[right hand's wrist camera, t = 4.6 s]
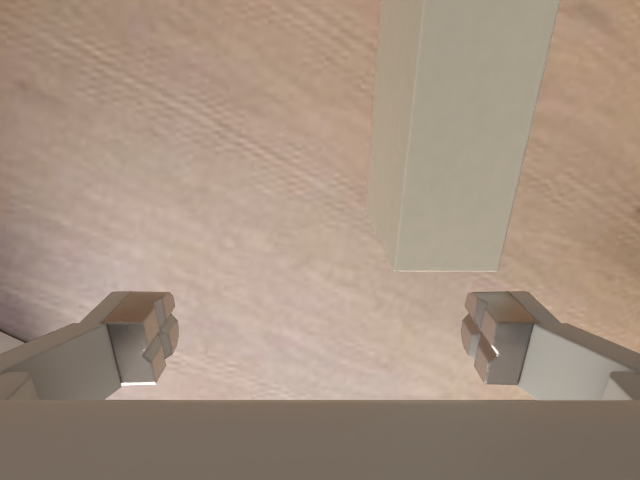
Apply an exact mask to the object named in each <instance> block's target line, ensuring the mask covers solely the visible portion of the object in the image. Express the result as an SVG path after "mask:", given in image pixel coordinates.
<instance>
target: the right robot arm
mask: <svg viewBox="0 0 640 480" xmlns="http://www.w3.org/2000/svg"><path fill="white" fill-rule="evenodd" d="M174 307H175V303H174V298H173V295H172V294H171V293H170V292H139V291H134V292H133V291H116V292H111V293H110V294H109V295H108V296H107V297H106V298H105V299H104V300H103V301H102V302H101V303H100V304H99V305H98V306H97V307H96V308H95V309H93V310H92V311H91V312H90V313H89V314H88V315H87V316H86V317H85V318H84V319H83V320H82V321H81V322H80V323H73V324H70V325H68V326H65V327H63V328H61V329H58V330H56V331H53V332H51V333H49V334H46V335H44V336H42V337H39V338H37V339H34V340H32V341H30V342H27V343H24V342H22V341H20V340H18V339H16V338H13V337H11V336H9V335H7V334H5V333H3V332H1V331H0V480H640V354H639V353H637V352H634V351H632V350H630V349H627V348H625V347H622V346H620V345H618V344H615V343H613V342H610V341H608V340H606V339H603V338H601V337H598V336H596V335H594V334H591V333H589V332H586V331H584V330H582V329H579V328H577V327H575V326H572V325H570V324H567V323H560V322H559V321H558V320H557V319H556V318H555V317H554V316H553V315H552V314H551V313H550V312H549V311H548V310H547V309H546V308H545V307H543V306H542V305H541V304H540V303H539V302H538V301H537V300H536V299H535V298H534V297H533V296H532V295H531V294H530V293H529V292H526V291H511V292H509V291H506V292H472V293H468V296H467V298H466V303H465V307H466V309H467V311H468V312H469V314H468V315H467V316H466V317H465V318H464V319H463V320H462V328H461V335H462V343H463V346H464V349H465V350H466V352H467V354H468V355H469V356H471V357H473V358H474V359H475V363H474V367H475V368H476V370H477V372H478V374H479V375H480V377H481V379H482V381H483V382H484V384H501V385H518V387H520V388H521V389H522V390H524V391H525V392H526V393H528V394H529V395H530V396H532V397H533V398H534V399H535V400H105V399H106V398H107V397H109V396H110V395H111V394H113V393H114V392H115V391H117V390H118V389H119V388H121V387H122V385H138V384H156V383H157V381H158V379H159V377H160V375H161V374H162V372H163V370H164V368H165V367H166V363H165V359H166V358H167V357H169V356H171V355H172V354H173V352H174V350H175V348H176V346H177V342H178V337H179V327H178V320H177V319H176V318H175V317H174V316H173V315H172V314H171V312H172V311H173V309H174Z"/></svg>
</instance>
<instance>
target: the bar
mask: <svg viewBox="0 0 640 480" xmlns="http://www.w3.org/2000/svg"><path fill="white" fill-rule="evenodd" d="M559 3H560V0H381V5H380V19H379V32H378V46H377V60H376V73H375V87H374V101H373V115H372V128H371V142H370V156H369V169H368V183H367V197H366V210H365V211H366V213H367V215H368V217H369V220H370V222H371V224H372V226H373V228H374V230H375V232H376V234H377V236H378V238H379V240H380V242H381V245H382V247H383V249H384V251H385V253H386V255H387V257H388V259H389V261H390V263H391V265H392V267H393V270H394V271H498V268H499V264H500V260H501V255H502V251H503V247H504V242H505V238H506V234H507V229H508V225H509V221H510V216H511V212H512V207H513V203H514V199H515V194H516V190H517V186H518V181H519V177H520V173H521V168H522V164H523V160H524V155H525V151H526V147H527V142H528V138H529V134H530V129H531V125H532V121H533V116H534V112H535V108H536V103H537V99H538V95H539V90H540V86H541V82H542V77H543V73H544V69H545V64H546V60H547V56H548V51H549V47H550V43H551V38H552V34H553V30H554V25H555V21H556V16H557V12H558V8H559Z"/></svg>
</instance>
